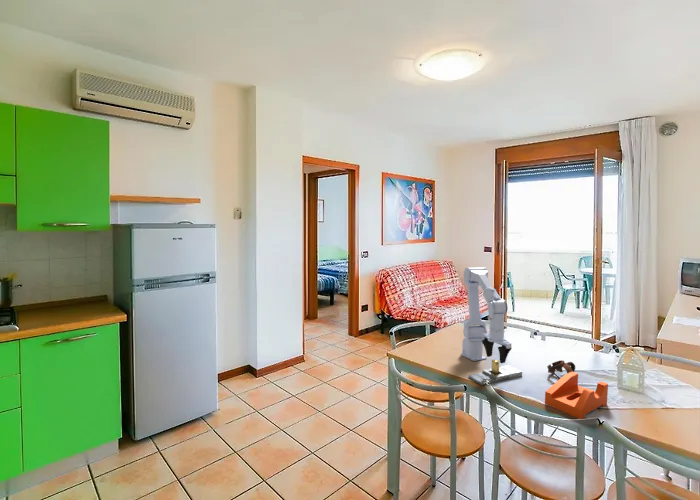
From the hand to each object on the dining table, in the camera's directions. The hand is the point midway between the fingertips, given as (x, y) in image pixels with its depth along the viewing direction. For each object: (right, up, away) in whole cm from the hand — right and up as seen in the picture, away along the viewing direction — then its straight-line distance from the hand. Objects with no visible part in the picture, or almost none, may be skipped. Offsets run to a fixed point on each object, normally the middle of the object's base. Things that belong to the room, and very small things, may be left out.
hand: (495, 359), depth 160 cm
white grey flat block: (0, -8, +1) cm, 8 cm away
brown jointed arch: (+28, -8, 0) cm, 30 cm away
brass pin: (0, -8, +1) cm, 8 cm away
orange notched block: (+20, -10, -23) cm, 32 cm away
